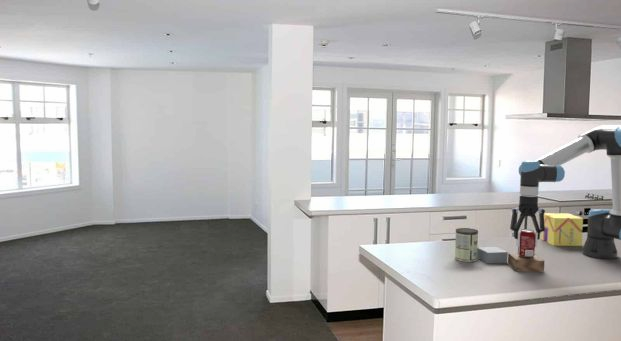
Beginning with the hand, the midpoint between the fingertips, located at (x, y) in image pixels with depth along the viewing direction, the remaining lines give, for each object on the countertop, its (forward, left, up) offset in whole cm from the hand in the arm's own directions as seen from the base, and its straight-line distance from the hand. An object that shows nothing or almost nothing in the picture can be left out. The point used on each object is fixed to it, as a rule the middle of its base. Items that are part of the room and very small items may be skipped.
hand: (526, 246), depth 221 cm
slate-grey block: (+12, -11, -10) cm, 19 cm away
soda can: (0, 0, -5) cm, 5 cm away
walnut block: (0, 0, -10) cm, 10 cm away
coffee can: (+24, -11, -10) cm, 28 cm away
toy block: (-35, -55, -10) cm, 66 cm away
